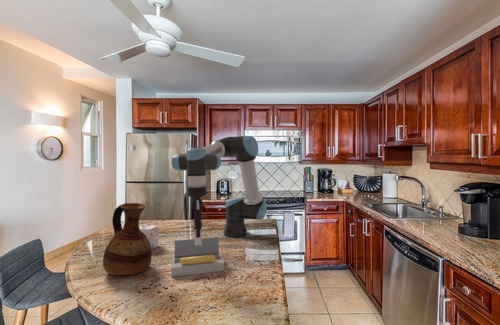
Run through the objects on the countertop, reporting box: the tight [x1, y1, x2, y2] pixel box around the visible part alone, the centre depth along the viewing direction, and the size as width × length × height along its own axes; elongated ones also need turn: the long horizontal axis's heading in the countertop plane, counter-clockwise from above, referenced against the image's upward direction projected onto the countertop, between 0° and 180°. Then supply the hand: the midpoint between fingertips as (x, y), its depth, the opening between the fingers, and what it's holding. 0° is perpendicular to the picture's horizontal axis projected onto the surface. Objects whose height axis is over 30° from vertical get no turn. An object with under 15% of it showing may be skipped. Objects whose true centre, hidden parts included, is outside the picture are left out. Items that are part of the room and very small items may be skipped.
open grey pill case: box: [170, 251, 225, 278], centre depth 121 cm, size 22×14×4 cm, turn 103°
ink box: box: [139, 222, 159, 251], centre depth 150 cm, size 9×8×13 cm
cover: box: [174, 236, 220, 259], centre depth 125 cm, size 20×8×1 cm
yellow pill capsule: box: [180, 255, 215, 265], centre depth 117 cm, size 15×3×3 cm, turn 103°
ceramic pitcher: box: [102, 202, 153, 276], centre depth 119 cm, size 20×20×30 cm
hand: (198, 243), depth 111 cm, fingers open, 4 cm apart
